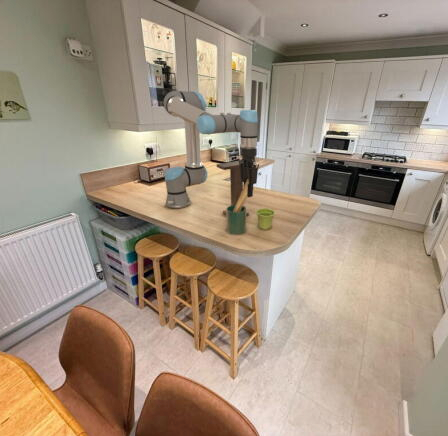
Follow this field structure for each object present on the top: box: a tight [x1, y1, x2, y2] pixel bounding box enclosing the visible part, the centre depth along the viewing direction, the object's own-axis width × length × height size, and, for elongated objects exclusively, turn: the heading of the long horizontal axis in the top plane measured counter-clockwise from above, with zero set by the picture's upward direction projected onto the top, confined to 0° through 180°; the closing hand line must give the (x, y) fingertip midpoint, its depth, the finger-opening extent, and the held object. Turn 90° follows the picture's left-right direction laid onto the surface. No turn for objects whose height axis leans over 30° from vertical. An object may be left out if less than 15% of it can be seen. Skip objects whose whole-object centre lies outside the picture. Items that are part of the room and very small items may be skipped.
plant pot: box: [256, 207, 276, 230], centre depth 121 cm, size 9×9×9 cm
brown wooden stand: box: [216, 160, 250, 217], centre depth 129 cm, size 11×14×30 cm
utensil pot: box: [226, 204, 247, 235], centre depth 117 cm, size 10×10×12 cm
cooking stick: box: [233, 179, 249, 212], centre depth 115 cm, size 2×22×2 cm
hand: (248, 195), depth 116 cm, fingers closed on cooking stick, 2 cm apart
